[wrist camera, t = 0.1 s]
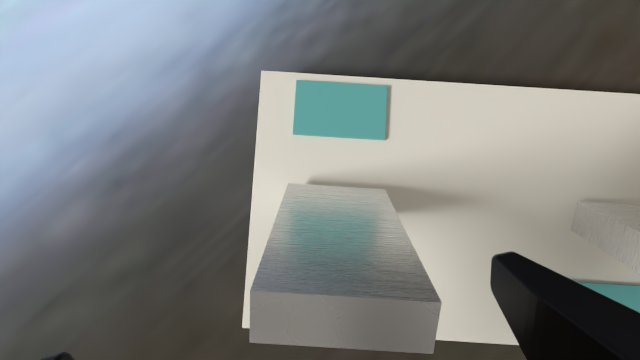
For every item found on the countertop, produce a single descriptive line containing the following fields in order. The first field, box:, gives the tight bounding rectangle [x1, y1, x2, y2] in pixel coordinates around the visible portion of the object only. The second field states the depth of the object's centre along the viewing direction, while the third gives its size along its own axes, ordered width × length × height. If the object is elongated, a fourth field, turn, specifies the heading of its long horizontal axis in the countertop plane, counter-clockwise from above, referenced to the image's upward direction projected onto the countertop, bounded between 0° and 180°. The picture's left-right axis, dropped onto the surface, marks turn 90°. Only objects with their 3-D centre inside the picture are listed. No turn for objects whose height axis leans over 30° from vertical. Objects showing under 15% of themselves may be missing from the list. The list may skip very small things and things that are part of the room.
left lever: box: [249, 183, 442, 354], centre depth 15 cm, size 2×5×10 cm, turn 86°
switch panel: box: [242, 71, 640, 345], centre depth 21 cm, size 14×24×3 cm, turn 86°
